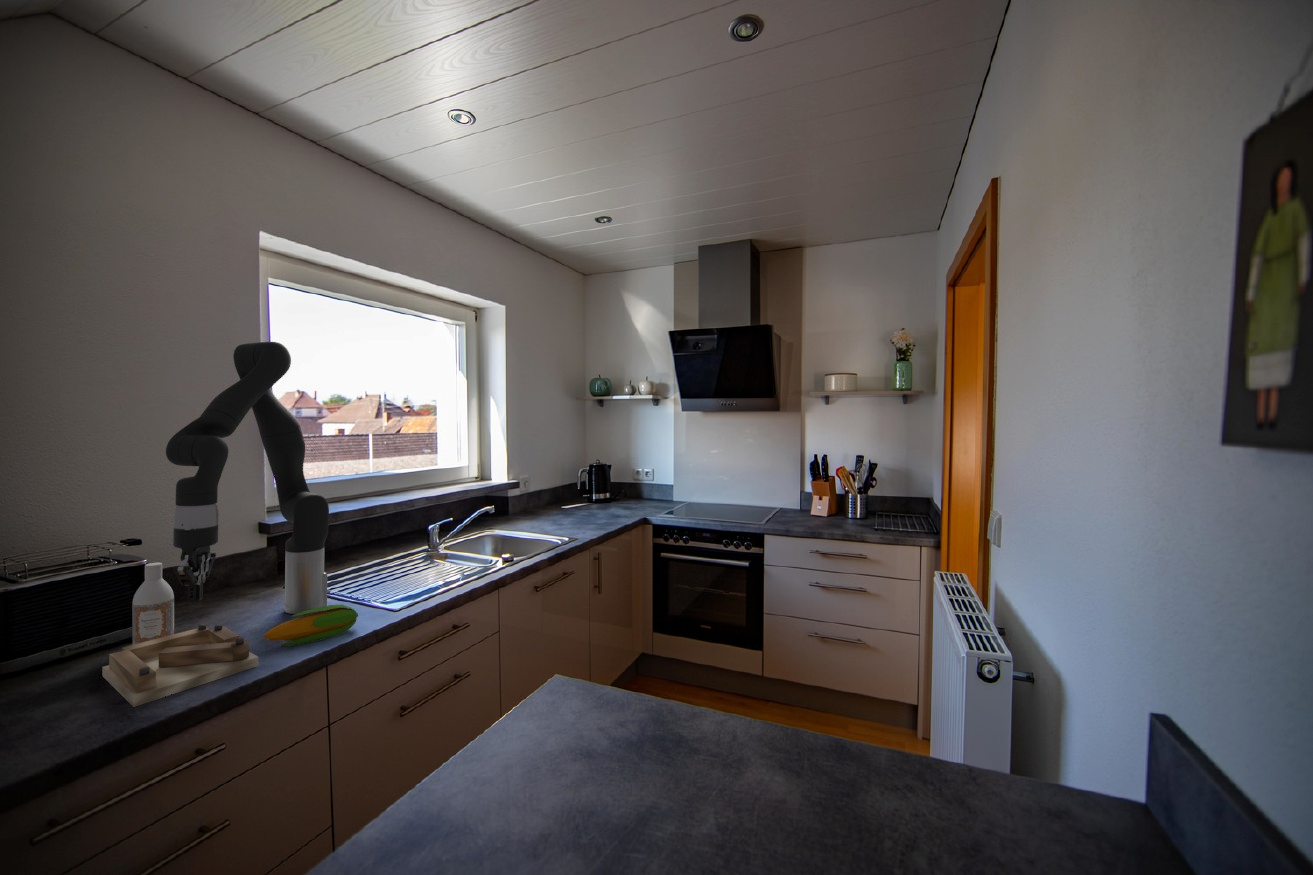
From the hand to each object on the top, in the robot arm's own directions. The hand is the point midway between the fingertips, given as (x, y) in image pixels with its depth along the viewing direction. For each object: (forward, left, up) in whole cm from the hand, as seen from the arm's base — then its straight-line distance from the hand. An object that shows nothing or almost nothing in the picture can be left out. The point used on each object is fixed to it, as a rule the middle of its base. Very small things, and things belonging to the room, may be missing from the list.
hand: (194, 600), depth 117 cm
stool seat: (+3, +5, -13) cm, 15 cm away
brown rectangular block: (+1, +8, -11) cm, 14 cm away
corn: (-20, +9, -14) cm, 26 cm away
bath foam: (+3, -13, -14) cm, 19 cm away
